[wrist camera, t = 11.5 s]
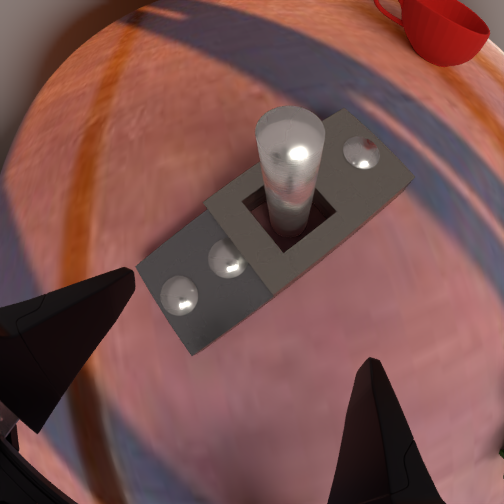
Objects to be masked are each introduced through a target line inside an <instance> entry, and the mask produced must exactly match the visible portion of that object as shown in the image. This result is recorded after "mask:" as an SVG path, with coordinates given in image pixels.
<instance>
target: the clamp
mask: <svg viewBox="0 0 504 504" xmlns="http://www.w3.org/2000/svg"><path fill="white" fill-rule="evenodd" d="M499 454H500V456H501V457H502V458H503V459H504V449H503V450H500V452H499ZM503 478H504V475H503Z"/></svg>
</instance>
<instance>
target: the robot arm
mask: <svg viewBox="0 0 504 504" xmlns="http://www.w3.org/2000/svg"><path fill="white" fill-rule="evenodd" d="M134 291H135V276H134V272H133V270H131V269H129V268H127V267H122V268H119V269H116V270H113V271H110V272H107V273H104V274H101V275H98V276H95V277H92V278H89V279H87V280H84V281H81V282H78V283H75V284H72V285H69V286H66V287H64V288H61V289H58V290H55V291H52V292H49V293H47V294H44V295H41V296H38V297H35V298H32V299H29V300H26V301H23V302H19V303H16V304H12V305H8V306H5V307H1V308H0V504H78V503H76V502H75V501H74V500H72V499H71V498H70V497H68V496H67V495H66V494H64V493H63V492H62V491H61V490H59V489H58V488H57V487H56V486H54V485H53V484H52V483H51V482H50V481H48V480H47V479H46V478H45V477H44V476H43V475H42V474H40V473H39V472H38V471H37V470H36V469H35V468H34V467H33V466H32V465H31V464H30V463H29V462H28V461H26V460H25V459H24V458H23V457H22V456H21V455H20V454H19V443H18V435H17V425H16V423H17V422H18V420H19V419H20V420H21V421H22V422H23V423H24V424H26V425H27V426H28V427H29V428H30V429H32V430H33V431H34V432H35V433H36V434H38V433H39V432H40V430H41V429H42V427H43V425H44V424H45V422H46V421H47V419H48V418H49V416H50V414H51V413H52V411H53V410H54V408H55V407H56V405H57V404H58V402H59V401H60V399H61V397H62V396H63V394H64V393H65V391H66V390H67V388H68V387H69V386H70V384H71V383H72V381H73V380H74V378H75V377H76V375H77V374H78V372H79V371H80V370H81V368H82V367H83V365H84V364H85V363H86V361H87V360H88V358H89V357H90V356H91V354H92V353H93V351H94V350H95V349H96V347H97V346H98V345H99V343H100V342H101V341H102V339H103V338H104V337H105V335H106V334H107V333H108V331H109V330H110V329H111V327H112V326H113V325H114V323H115V322H116V320H117V319H118V317H119V316H120V314H121V312H122V311H123V309H124V307H125V306H126V304H127V302H128V301H129V299H130V298H131V296H132V294H133V293H134ZM413 439H414V438H413V435H412V433H411V430H410V428H409V425H408V423H407V420H406V418H405V416H404V413H403V411H402V408H401V406H400V404H399V401H398V399H397V397H396V395H395V392H394V390H393V388H392V386H391V383H390V381H389V379H388V377H387V375H386V372H385V370H384V368H383V366H382V364H381V362H380V360H378V359H375V358H371V357H369V358H368V359H367V360H366V361H365V362H364V363H363V365H362V366H361V367H360V368H359V370H358V371H357V374H356V377H355V381H354V386H353V390H352V394H351V397H350V401H349V405H348V409H347V413H346V419H345V425H344V431H343V436H342V442H341V447H340V452H339V457H338V462H337V466H336V471H335V475H334V479H333V483H332V487H331V491H330V495H329V499H328V503H327V504H446V503H445V502H444V501H443V500H442V498H441V497H440V495H439V493H438V491H437V489H436V487H435V485H434V483H433V481H432V479H431V477H430V475H429V473H428V471H427V468H426V466H425V464H424V462H423V460H422V457H421V455H420V452H419V450H418V448H417V445H416V442H415V440H413Z"/></svg>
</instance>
